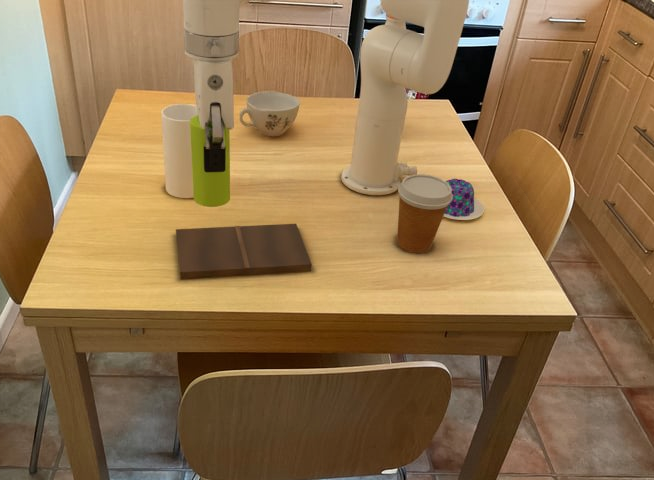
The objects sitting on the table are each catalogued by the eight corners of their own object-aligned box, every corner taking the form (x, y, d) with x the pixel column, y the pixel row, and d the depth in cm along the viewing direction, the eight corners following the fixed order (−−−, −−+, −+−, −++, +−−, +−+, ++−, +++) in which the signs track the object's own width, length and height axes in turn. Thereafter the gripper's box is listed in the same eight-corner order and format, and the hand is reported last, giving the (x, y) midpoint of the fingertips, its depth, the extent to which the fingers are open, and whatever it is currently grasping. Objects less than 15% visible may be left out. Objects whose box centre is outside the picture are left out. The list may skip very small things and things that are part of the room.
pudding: (423, 218, 123) (429, 194, 120) (423, 189, 133) (428, 167, 130) (485, 227, 122) (492, 203, 119) (481, 197, 132) (487, 175, 129)
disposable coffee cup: (428, 264, 111) (442, 205, 103) (379, 246, 114) (390, 187, 107) (447, 241, 117) (462, 183, 110) (400, 224, 121) (412, 167, 114)
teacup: (282, 118, 158) (284, 87, 153) (307, 138, 150) (310, 105, 145) (227, 127, 152) (228, 94, 147) (250, 148, 143) (251, 114, 138)
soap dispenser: (239, 192, 104) (239, 70, 92) (218, 210, 99) (215, 84, 87) (208, 183, 106) (205, 63, 94) (186, 201, 101) (179, 76, 89)
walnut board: (295, 230, 117) (296, 223, 116) (311, 271, 107) (311, 263, 106) (176, 236, 113) (175, 228, 112) (180, 279, 103) (180, 271, 102)
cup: (199, 201, 123) (197, 123, 113) (159, 194, 124) (154, 117, 114) (211, 182, 129) (211, 107, 120) (173, 176, 130) (170, 101, 121)
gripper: (247, 63, 81) (244, 187, 92) (230, 25, 94) (229, 137, 105) (188, 63, 80) (192, 189, 91) (180, 24, 93) (184, 138, 104)
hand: (212, 160), depth 98 cm, fingers closed on soap dispenser, 6 cm apart
